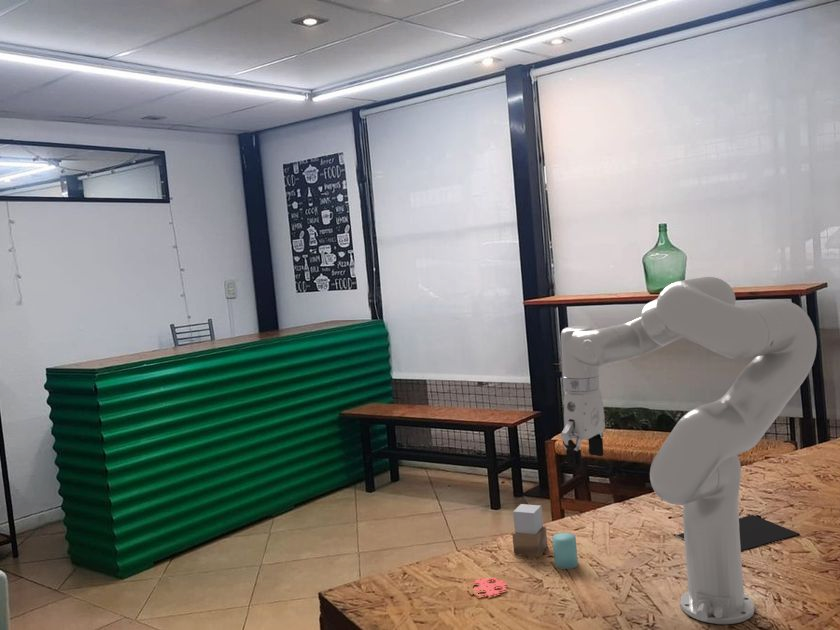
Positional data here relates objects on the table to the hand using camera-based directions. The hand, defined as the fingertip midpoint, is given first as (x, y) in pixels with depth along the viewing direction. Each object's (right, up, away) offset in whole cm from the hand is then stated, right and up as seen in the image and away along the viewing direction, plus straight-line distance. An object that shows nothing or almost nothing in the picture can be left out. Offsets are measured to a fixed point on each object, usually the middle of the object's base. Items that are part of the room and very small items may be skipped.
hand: (585, 461), depth 156 cm
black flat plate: (+36, -19, +8) cm, 42 cm away
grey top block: (-11, -18, +11) cm, 23 cm away
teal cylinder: (-4, -23, +2) cm, 23 cm away
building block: (-22, -26, -6) cm, 34 cm away
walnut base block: (-10, -23, +11) cm, 27 cm away
